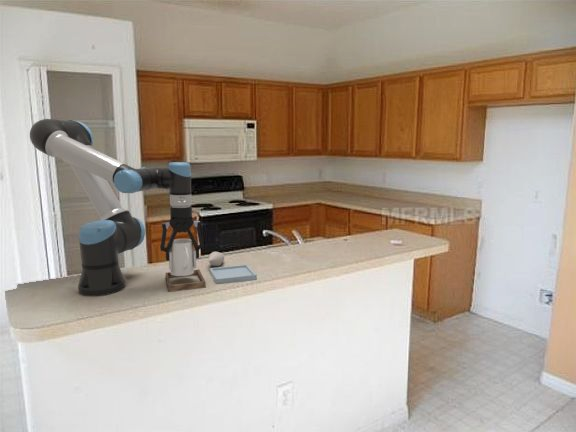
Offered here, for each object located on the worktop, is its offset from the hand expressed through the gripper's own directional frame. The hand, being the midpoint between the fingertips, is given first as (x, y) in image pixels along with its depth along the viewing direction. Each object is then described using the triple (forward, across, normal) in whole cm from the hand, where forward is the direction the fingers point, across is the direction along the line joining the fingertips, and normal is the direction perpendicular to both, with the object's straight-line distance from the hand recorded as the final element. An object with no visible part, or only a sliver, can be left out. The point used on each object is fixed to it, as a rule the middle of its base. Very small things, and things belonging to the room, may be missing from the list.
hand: (182, 268), depth 155 cm
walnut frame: (+5, +1, 0) cm, 5 cm away
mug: (+3, 0, 0) cm, 3 cm away
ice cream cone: (+6, +15, +17) cm, 23 cm away
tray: (+5, +19, +1) cm, 19 cm away
